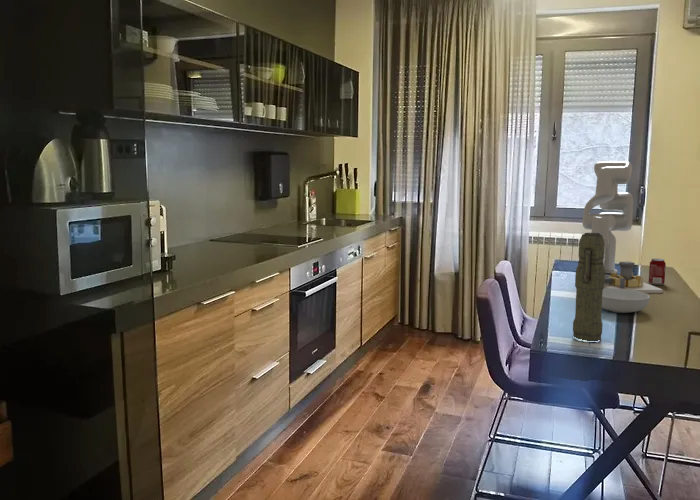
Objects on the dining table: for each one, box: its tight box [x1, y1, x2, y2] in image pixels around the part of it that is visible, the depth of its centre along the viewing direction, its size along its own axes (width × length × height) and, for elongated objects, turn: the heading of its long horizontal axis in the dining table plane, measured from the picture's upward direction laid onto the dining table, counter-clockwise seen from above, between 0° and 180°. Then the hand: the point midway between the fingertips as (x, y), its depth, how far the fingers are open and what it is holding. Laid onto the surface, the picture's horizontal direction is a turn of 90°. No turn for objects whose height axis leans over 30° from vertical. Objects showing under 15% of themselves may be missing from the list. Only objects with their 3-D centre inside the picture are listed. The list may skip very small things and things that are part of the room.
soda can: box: [648, 258, 667, 286], centre depth 279 cm, size 7×7×12 cm
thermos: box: [572, 232, 606, 341], centre depth 191 cm, size 9×12×35 cm
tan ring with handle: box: [605, 272, 644, 287], centre depth 272 cm, size 24×14×4 cm, turn 91°
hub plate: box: [604, 261, 664, 294], centre depth 272 cm, size 24×22×12 cm
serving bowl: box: [602, 288, 651, 314], centre depth 231 cm, size 21×21×7 cm
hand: (597, 281), depth 275 cm, fingers closed
